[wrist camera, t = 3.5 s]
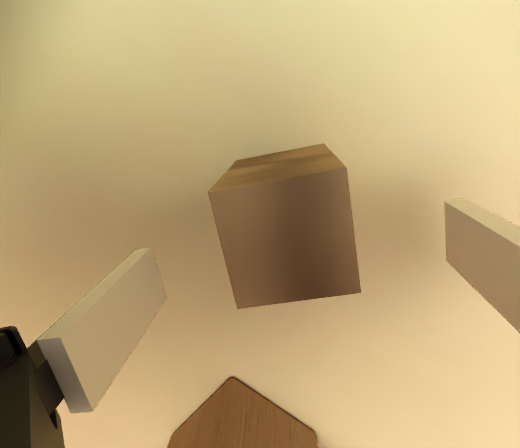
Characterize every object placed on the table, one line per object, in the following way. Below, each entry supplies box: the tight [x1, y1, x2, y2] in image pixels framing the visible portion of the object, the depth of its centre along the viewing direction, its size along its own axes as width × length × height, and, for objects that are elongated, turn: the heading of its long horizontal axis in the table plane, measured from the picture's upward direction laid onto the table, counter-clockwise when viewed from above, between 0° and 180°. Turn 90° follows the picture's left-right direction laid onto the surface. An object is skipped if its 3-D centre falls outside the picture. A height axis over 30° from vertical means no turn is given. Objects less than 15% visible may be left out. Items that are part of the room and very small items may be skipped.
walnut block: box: [208, 144, 361, 309], centre depth 20 cm, size 6×6×9 cm
